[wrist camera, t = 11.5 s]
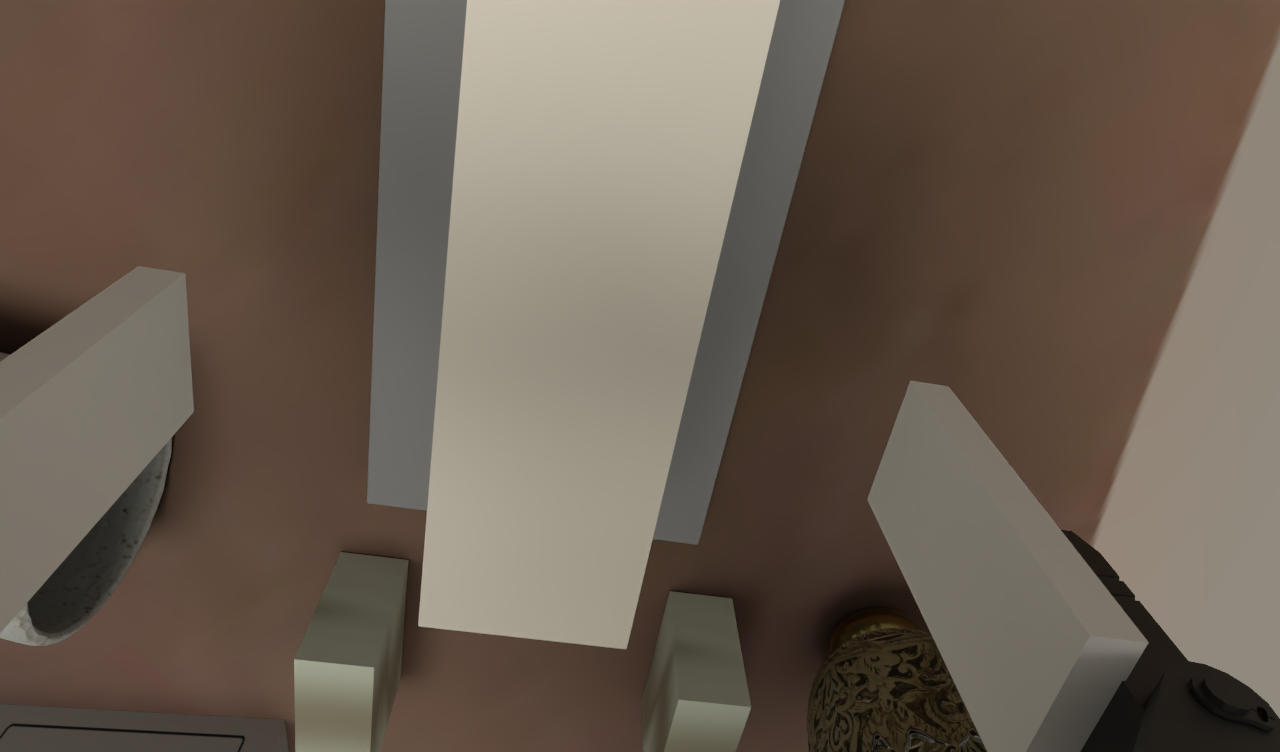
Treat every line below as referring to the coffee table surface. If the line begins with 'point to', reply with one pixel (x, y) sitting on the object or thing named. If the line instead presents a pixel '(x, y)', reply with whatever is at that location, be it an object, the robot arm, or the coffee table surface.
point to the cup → (887, 691)
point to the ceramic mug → (92, 563)
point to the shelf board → (577, 298)
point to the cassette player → (134, 731)
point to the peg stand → (419, 230)
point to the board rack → (372, 657)
